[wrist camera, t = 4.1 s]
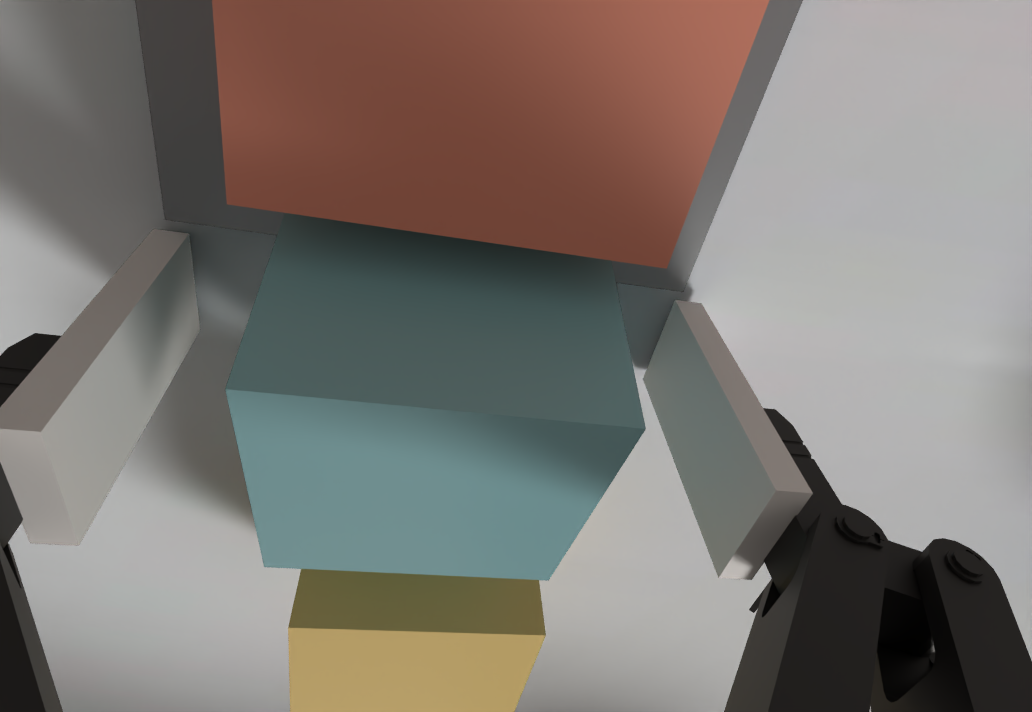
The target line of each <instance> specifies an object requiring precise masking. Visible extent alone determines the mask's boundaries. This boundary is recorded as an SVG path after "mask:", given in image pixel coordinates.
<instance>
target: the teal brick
mask: <svg viewBox="0 0 1032 712" xmlns="http://www.w3.org/2000/svg"><path fill="white" fill-rule="evenodd" d="M225 390H226V395H227V399H228V404H229V409H230V413H231V418H232V422H233V427H234V431H235V436H236V440H237V445H238V450H239V454H240V459H241V463H242V468H243V472H244V477H245V481H246V486H247V490H248V495H249V500H250V504H251V509H252V513H253V518H254V522H255V527H256V531H257V536H258V541H259V545H260V550H261V554H262V559H263V563H264V567H275V568H296V569H317V570H339V571H360V572H381V573H402V574H423V575H445V576H466V577H487V578H508V579H530V580H549V579H550V577H551V576H552V574H553V572H554V571H555V569H556V568H557V566H558V565H559V563H560V562H561V560H562V558H563V557H564V555H565V554H566V552H567V551H568V549H569V548H570V546H571V544H572V543H573V541H574V540H575V538H576V537H577V535H578V534H579V532H580V530H581V529H582V527H583V526H584V524H585V523H586V521H587V520H588V518H589V516H590V515H591V513H592V512H593V510H594V509H595V507H596V505H597V504H598V502H599V501H600V499H601V498H602V496H603V495H604V493H605V491H606V490H607V488H608V487H609V485H610V484H611V482H612V481H613V479H614V477H615V476H616V474H617V473H618V471H619V470H620V468H621V467H622V465H623V463H624V462H625V460H626V459H627V457H628V456H629V454H630V453H631V451H632V449H633V448H634V446H635V445H636V443H637V442H638V440H639V438H640V437H641V435H642V434H643V432H644V431H645V429H646V428H645V423H644V418H643V413H642V408H641V403H640V399H639V394H638V389H637V384H636V379H635V374H634V369H633V364H632V359H631V355H630V350H629V345H628V340H627V335H626V330H625V325H624V320H623V315H622V311H621V306H620V301H619V296H618V291H617V286H616V281H615V276H614V271H613V267H612V262H611V260H604V259H597V258H591V257H584V256H577V255H570V254H563V253H556V252H550V251H543V250H536V249H529V248H522V247H515V246H509V245H502V244H495V243H488V242H481V241H474V240H468V239H461V238H454V237H447V236H440V235H433V234H427V233H420V232H413V231H406V230H399V229H392V228H385V227H379V226H372V225H365V224H358V223H351V222H344V221H338V220H331V219H324V218H317V217H310V216H303V215H297V214H290V213H285V214H284V217H283V220H282V223H281V226H280V229H279V232H278V235H277V238H276V241H275V244H274V247H273V249H272V252H271V255H270V258H269V261H268V264H267V267H266V270H265V273H264V276H263V279H262V282H261V285H260V288H259V291H258V294H257V297H256V300H255V303H254V306H253V308H252V311H251V314H250V317H249V320H248V323H247V326H246V329H245V332H244V335H243V338H242V341H241V344H240V347H239V350H238V353H237V356H236V359H235V362H234V365H233V368H232V370H231V373H230V376H229V379H228V382H227V385H226V388H225Z"/></svg>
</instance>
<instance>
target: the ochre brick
mask: <svg viewBox="0 0 1032 712" xmlns="http://www.w3.org/2000/svg"><path fill="white" fill-rule="evenodd" d="M288 636H289V678H290V712H514V711H515V709H516V706H517V704H518V701H519V699H520V696H521V694H522V692H523V689H524V687H525V684H526V682H527V680H528V677H529V675H530V672H531V670H532V667H533V665H534V663H535V660H536V658H537V655H538V653H539V651H540V648H541V646H542V643H543V641H544V638H545V636H546V634H545V626H544V618H543V610H542V601H541V593H540V585H539V580H530V579H508V578H487V577H466V576H445V575H423V574H402V573H381V572H360V571H339V570H317V569H301V573H300V577H299V582H298V586H297V591H296V595H295V600H294V604H293V609H292V613H291V618H290V622H289V627H288Z"/></svg>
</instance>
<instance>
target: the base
mask: <svg viewBox="0 0 1032 712" xmlns="http://www.w3.org/2000/svg"><path fill="white" fill-rule="evenodd" d="M802 1H803V0H135V2H136V9H137V16H138V24H139V31H140V39H141V46H142V53H143V61H144V68H145V76H146V83H147V90H148V98H149V105H150V113H151V120H152V127H153V135H154V142H155V150H156V157H157V164H158V172H159V179H160V186H161V194H162V201H163V209H164V216H165V220H171V221H178V222H186V223H193V224H200V225H207V226H214V227H221V228H229V229H236V230H243V231H250V232H257V233H264V234H271V235H278V232H279V229H280V226H281V223H282V220H283V217H284V214H285V213H290V214H297V215H303V216H310V217H317V218H324V219H331V220H338V221H344V222H351V223H358V224H365V225H372V226H379V227H385V228H392V229H399V230H406V231H413V232H420V233H427V234H433V235H440V236H447V237H454V238H461V239H468V240H474V241H481V242H488V243H495V244H502V245H509V246H515V247H522V248H529V249H536V250H543V251H550V252H556V253H563V254H570V255H577V256H584V257H591V258H597V259H604V260H611V262H612V267H613V271H614V276H615V281H616V283H622V284H629V285H636V286H644V287H651V288H658V289H665V290H672V291H679V292H683V291H684V289H685V286H686V284H687V281H688V279H689V277H690V274H691V272H692V269H693V267H694V264H695V262H696V259H697V257H698V255H699V252H700V250H701V247H702V245H703V242H704V240H705V238H706V235H707V233H708V230H709V228H710V225H711V223H712V220H713V218H714V216H715V213H716V211H717V208H718V206H719V203H720V201H721V199H722V196H723V194H724V191H725V189H726V186H727V184H728V181H729V179H730V177H731V174H732V172H733V169H734V167H735V164H736V162H737V160H738V157H739V155H740V152H741V150H742V147H743V145H744V142H745V140H746V138H747V135H748V133H749V130H750V128H751V125H752V123H753V121H754V118H755V116H756V113H757V111H758V108H759V106H760V103H761V101H762V99H763V96H764V94H765V91H766V89H767V86H768V84H769V82H770V79H771V77H772V74H773V72H774V69H775V67H776V64H777V62H778V60H779V57H780V55H781V52H782V50H783V47H784V45H785V43H786V40H787V38H788V35H789V33H790V30H791V28H792V25H793V23H794V21H795V18H796V16H797V13H798V11H799V8H800V6H801V4H802Z"/></svg>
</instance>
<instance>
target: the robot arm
mask: <svg viewBox="0 0 1032 712" xmlns="http://www.w3.org/2000/svg"><path fill="white" fill-rule="evenodd" d="M199 331H200V322H199V314H198V305H197V296H196V288H195V279H194V271H193V262H192V253H191V245H190V236H189V233H181V232H174V231H166V230H159V229H153V230H152V231H151V233H150V234H149V235H148V236H147V237H146V238H145V240H144V241H143V242H142V243H141V244H140V245H139V246H138V248H137V249H136V250H135V251H134V252H133V253H132V255H131V256H130V257H129V258H128V259H127V260H126V262H125V263H124V264H123V265H122V266H121V267H120V269H119V270H118V271H117V272H116V273H115V274H114V276H113V277H112V278H111V279H110V280H109V281H108V283H107V284H106V285H105V286H104V287H103V288H102V290H101V291H100V292H99V293H98V294H97V295H96V297H95V298H94V299H93V300H92V301H91V302H90V303H89V305H88V306H87V307H86V308H85V309H84V310H83V312H82V313H81V314H80V315H79V316H78V317H77V319H76V320H75V321H74V322H73V323H72V324H71V326H70V327H69V328H68V329H67V330H66V331H65V333H64V334H63V335H62V336H57V335H48V334H38V333H34V334H33V335H31V336H29V337H27V338H25V339H23V340H21V341H20V342H18V343H16V344H14V345H12V346H10V347H8V348H7V349H6V350H5V351H4V352H3V354H2V355H1V356H0V712H63V711H62V707H61V704H60V701H59V698H58V695H57V692H56V688H55V685H54V682H53V679H52V676H51V673H50V669H49V666H48V663H47V660H46V657H45V654H44V650H43V647H42V644H41V641H40V638H39V635H38V631H37V628H36V625H35V622H34V619H33V616H32V612H31V609H30V606H29V603H28V600H27V597H26V594H25V590H24V587H23V584H22V581H21V578H20V575H19V571H18V568H17V565H16V562H15V559H14V556H13V553H12V550H11V548H10V546H9V544H8V542H9V540H10V539H11V537H12V536H13V534H14V533H15V531H16V530H17V528H18V527H19V525H20V524H21V522H22V525H23V527H24V530H25V532H26V534H27V537H28V539H29V542H30V543H35V544H55V545H75V546H79V545H80V543H81V541H82V540H83V538H84V536H85V534H86V532H87V531H88V529H89V527H90V525H91V524H92V522H93V520H94V518H95V516H96V515H97V513H98V511H99V509H100V508H101V506H102V504H103V502H104V500H105V499H106V497H107V495H108V493H109V492H110V490H111V488H112V486H113V484H114V483H115V481H116V479H117V477H118V476H119V474H120V472H121V470H122V468H123V467H124V465H125V463H126V461H127V460H128V458H129V456H130V454H131V452H132V451H133V449H134V447H135V445H136V444H137V442H138V440H139V438H140V436H141V435H142V433H143V431H144V429H145V427H146V426H147V424H148V422H149V420H150V419H151V417H152V415H153V413H154V411H155V410H156V408H157V406H158V404H159V403H160V401H161V399H162V397H163V395H164V394H165V392H166V390H167V388H168V387H169V385H170V383H171V381H172V379H173V378H174V376H175V374H176V372H177V371H178V369H179V367H180V365H181V363H182V362H183V360H184V358H185V356H186V355H187V353H188V351H189V349H190V347H191V346H192V344H193V342H194V340H195V339H196V337H197V335H198V333H199ZM643 380H644V383H645V386H646V388H647V391H648V394H649V396H650V399H651V402H652V404H653V407H654V409H655V412H656V415H657V417H658V420H659V423H660V425H661V428H662V430H663V433H664V436H665V438H666V441H667V444H668V446H669V449H670V451H671V454H672V457H673V459H674V462H675V465H676V467H677V470H678V473H679V475H680V478H681V480H682V483H683V486H684V488H685V491H686V494H687V496H688V499H689V501H690V504H691V507H692V509H693V512H694V515H695V517H696V520H697V522H698V525H699V528H700V530H701V533H702V536H703V538H704V541H705V544H706V546H707V549H708V551H709V554H710V557H711V559H712V562H713V565H714V567H715V570H716V572H717V575H718V578H728V579H747V580H752V579H753V577H754V576H755V574H756V573H757V572H758V570H759V569H760V567H761V566H762V565H763V563H764V562H765V564H766V566H767V569H768V571H769V573H770V575H771V577H772V579H771V581H770V582H769V583H768V585H767V586H766V587H765V589H764V590H763V591H762V593H761V594H760V595H759V597H758V598H757V600H756V601H755V602H754V604H753V605H752V606H751V608H750V609H749V610H750V611H752V612H753V613H754V612H755V611H756V610H757V609H758V610H757V613H756V616H755V619H754V622H753V625H752V628H751V631H750V634H749V637H748V640H747V643H746V646H745V649H744V652H743V655H742V659H741V662H740V665H739V668H738V671H737V674H736V677H735V680H734V683H733V686H732V689H731V692H730V695H729V698H728V701H727V704H726V707H725V710H724V712H869V710H870V706H871V712H1032V661H1031V658H1030V656H1029V653H1028V650H1027V648H1026V645H1025V643H1024V640H1023V638H1022V635H1021V632H1020V630H1019V627H1018V625H1017V622H1016V620H1015V617H1014V614H1013V612H1012V609H1011V607H1010V604H1009V602H1008V599H1007V596H1006V594H1005V591H1004V589H1003V586H1002V584H1001V581H1000V579H999V577H998V576H997V574H996V572H995V571H994V569H993V568H992V567H991V566H990V565H989V564H988V563H987V562H986V561H985V560H984V559H983V558H982V557H981V556H980V555H979V554H978V553H976V552H975V551H973V550H972V549H970V548H968V547H966V546H964V545H962V544H960V543H958V542H956V541H952V540H948V539H944V538H942V539H935V540H933V541H932V542H931V543H930V544H929V545H928V546H927V547H926V549H925V550H924V551H923V552H921V551H918V550H915V549H912V548H909V547H906V546H903V545H900V544H897V543H894V542H891V541H888V539H887V538H886V536H885V534H884V533H883V531H882V529H881V528H880V527H879V526H878V525H877V524H876V523H875V522H874V521H873V520H872V519H871V518H869V517H868V516H866V515H865V514H863V513H862V512H860V511H859V510H856V509H854V508H851V507H849V506H846V505H842V504H841V502H840V501H839V499H838V497H837V496H836V494H835V493H834V491H833V489H832V488H831V486H830V485H829V483H828V481H827V480H826V478H825V477H824V475H823V473H822V472H821V470H820V469H819V467H818V465H817V464H816V462H815V460H814V459H811V454H810V452H809V451H808V449H807V448H806V446H805V445H803V441H802V440H801V438H800V436H799V435H798V433H797V432H796V430H795V428H794V427H793V425H792V424H791V423H790V422H788V421H787V420H786V419H785V418H784V417H783V416H782V415H781V414H780V413H779V412H778V411H777V410H775V409H766V408H763V407H762V406H761V404H760V402H759V401H758V399H757V397H756V395H755V394H754V392H753V390H752V389H751V387H750V385H749V384H748V382H747V380H746V378H745V377H744V375H743V373H742V372H741V370H740V368H739V367H738V365H737V363H736V361H735V360H734V358H733V356H732V355H731V353H730V351H729V349H728V348H727V346H726V344H725V343H724V341H723V339H722V338H721V336H720V334H719V332H718V331H717V329H716V327H715V326H714V324H713V322H712V321H711V319H710V317H709V315H708V314H707V312H706V310H705V309H704V307H703V305H702V303H695V302H688V301H680V300H675V301H674V304H673V306H672V309H671V311H670V314H669V316H668V318H667V321H666V323H665V326H664V328H663V331H662V333H661V336H660V338H659V340H658V343H657V345H656V348H655V350H654V353H653V355H652V358H651V360H650V363H649V365H648V367H647V370H646V372H645V375H644V377H643Z"/></svg>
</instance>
